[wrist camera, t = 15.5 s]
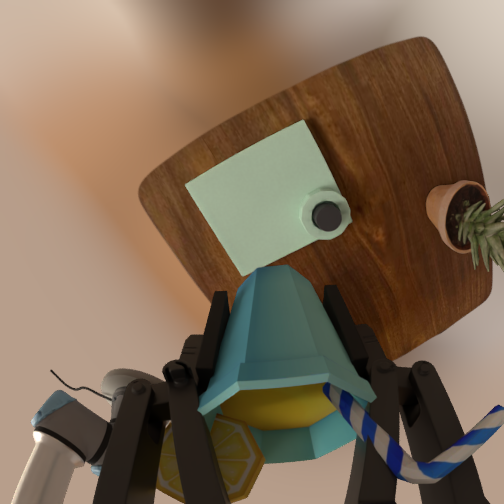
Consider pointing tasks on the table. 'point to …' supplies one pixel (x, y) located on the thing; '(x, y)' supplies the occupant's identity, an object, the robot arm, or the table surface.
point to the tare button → (327, 217)
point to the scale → (269, 198)
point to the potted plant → (468, 220)
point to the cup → (294, 393)
